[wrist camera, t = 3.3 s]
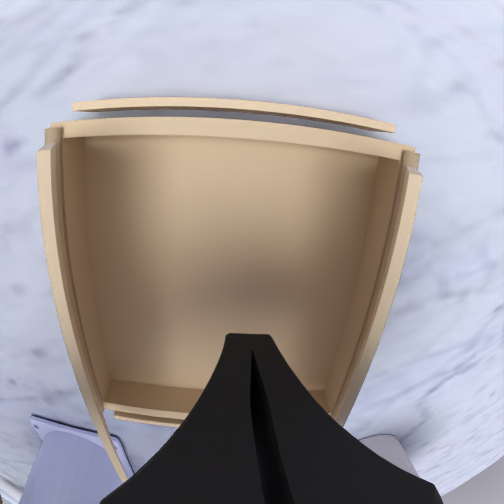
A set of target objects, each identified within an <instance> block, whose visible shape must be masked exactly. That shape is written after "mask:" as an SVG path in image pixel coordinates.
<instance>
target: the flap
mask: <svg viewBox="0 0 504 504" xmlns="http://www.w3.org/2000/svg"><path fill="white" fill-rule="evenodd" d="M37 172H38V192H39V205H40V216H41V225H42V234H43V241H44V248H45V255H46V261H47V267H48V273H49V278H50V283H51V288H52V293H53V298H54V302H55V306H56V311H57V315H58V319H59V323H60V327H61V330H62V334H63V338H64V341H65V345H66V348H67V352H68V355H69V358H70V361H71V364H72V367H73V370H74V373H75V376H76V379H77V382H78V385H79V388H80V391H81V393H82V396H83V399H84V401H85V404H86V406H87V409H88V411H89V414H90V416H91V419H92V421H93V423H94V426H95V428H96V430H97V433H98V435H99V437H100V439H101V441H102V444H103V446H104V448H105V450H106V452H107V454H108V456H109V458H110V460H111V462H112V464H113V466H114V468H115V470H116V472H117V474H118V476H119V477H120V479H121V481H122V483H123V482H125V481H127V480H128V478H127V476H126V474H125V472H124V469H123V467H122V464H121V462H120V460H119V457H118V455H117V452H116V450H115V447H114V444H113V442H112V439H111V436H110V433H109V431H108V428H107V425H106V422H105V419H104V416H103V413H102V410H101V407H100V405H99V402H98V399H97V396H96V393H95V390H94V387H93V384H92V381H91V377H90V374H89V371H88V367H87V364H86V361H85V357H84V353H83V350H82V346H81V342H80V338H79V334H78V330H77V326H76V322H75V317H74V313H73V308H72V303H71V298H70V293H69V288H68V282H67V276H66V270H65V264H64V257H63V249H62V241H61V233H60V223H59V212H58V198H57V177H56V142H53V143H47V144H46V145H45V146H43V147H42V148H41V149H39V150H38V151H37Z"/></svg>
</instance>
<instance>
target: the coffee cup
mask: <svg viewBox="0 0 504 504" xmlns="http://www.w3.org/2000/svg"><path fill="white" fill-rule="evenodd" d="M359 441H360V442H361V443H363V444H364V445H365V446H367V447H368V448H369V449H371V450H372V451H374V452H375V453H376V454H378V455H379V456H381V457H382V458H384V459H386V460H387V461H389V462H391V463H392V464H394V465H396V466H397V467H399V468H401V469H403V470H405V471H407V472H409V473H411V474H413V475H415V476H417V477H419V476H418V474H417V472H416V470H415V468H414V467H413V465H412V463H411V461H410V460H409V458H408V456H407V454H406V453H405V451H404V449H403V447H402V446H401V444H400V442H399V441H398V439H397V438H396V437H395V436H392V435H376V436H371V437H367V438H364V439H361V440H359ZM419 478H420V477H419Z"/></svg>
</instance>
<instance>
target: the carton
mask: <svg viewBox="0 0 504 504" xmlns="http://www.w3.org/2000/svg"><path fill="white" fill-rule="evenodd" d="M158 109H173V110H210V111H229V112H243V113H255V114H265V115H275V116H284V117H292V118H300V119H307V120H314V121H320V122H327V123H333V124H339V125H344V126H350V127H355V128H360V129H365V130H370V131H379V132H390V133H395V130H396V125H395V124H391V123H386V122H382V121H378V120H373V119H369V118H364V117H360V116H355V115H350V114H344V113H339V112H333V111H328V110H322V109H315V108H309V107H302V106H295V105H287V104H279V103H270V102H260V101H249V100H236V99H220V98H194V97H148V98H123V99H107V100H95V101H84V102H75V103H73V109H72V111H84V112H103V111H121V110H158ZM53 142H56V177H57V198H58V212H59V223H60V233H61V241H62V249H63V257H64V264H65V270H66V276H67V282H68V288H69V293H70V298H71V303H72V308H73V313H74V317H75V322H76V326H77V330H78V334H79V338H80V342H81V346H82V350H83V353H84V357H85V361H86V364H87V367H88V371H89V374H90V377H91V381H92V384H93V387H94V390H95V393H96V396H97V399H98V402H99V405H100V407H101V410H102V412H103V411H104V409H110V410H115V413H114V418H115V419H120V420H126V421H132V422H139V423H146V424H153V425H161V426H170V427H179V426H180V425H181V424H182V422H183V421H184V420H185V418H186V417H187V416H188V414H189V413H190V411H191V410H192V408H193V407H194V405H195V404H196V402H197V401H198V399H199V397H200V396H201V394H202V392H203V390H204V389H205V387H206V385H207V383H208V382H209V380H210V378H211V376H212V374H213V371H214V369H215V367H216V365H217V363H218V361H219V358H220V355H221V353H222V350H223V346H224V342H225V336H226V335H227V334H228V333H244V334H269V335H270V336H271V337H272V338H273V340H274V342H275V344H276V345H277V347H278V349H279V350H280V352H281V354H282V355H283V357H284V358H285V360H286V362H287V363H288V365H289V366H290V368H291V369H292V370H293V372H294V373H295V374H296V376H297V377H298V379H299V380H300V381H301V383H302V384H303V385H304V386H305V388H306V389H307V390H308V392H309V393H310V394H311V395H312V396H313V397H314V399H315V400H316V401H317V402H318V403H319V404H320V405H321V406H322V408H323V409H324V410H325V411H326V412H327V413H328V414H329V415H330V416H331V417H332V418H333V419H334V417H335V415H336V413H337V410H338V408H339V406H340V403H341V401H342V398H343V396H344V393H345V391H346V388H347V386H348V383H349V380H350V378H351V375H352V373H353V370H354V367H355V364H356V362H357V359H358V356H359V353H360V350H361V347H362V345H363V342H364V339H365V336H366V333H367V329H368V326H369V323H370V320H371V317H372V314H373V310H374V307H375V304H376V300H377V297H378V293H379V290H380V286H381V283H382V279H383V275H384V271H385V268H386V264H387V260H388V256H389V251H390V247H391V243H392V239H393V234H394V230H395V225H396V220H397V216H398V211H399V206H400V200H401V195H402V189H403V184H404V178H405V171H406V165H407V166H411V167H415V168H416V169H417V170H418V164H419V157H420V154H418V153H415V147H411V146H407V145H402V144H398V143H394V142H389V141H385V140H380V139H375V138H370V137H365V136H360V135H355V134H349V133H344V132H338V131H332V130H325V129H319V128H312V127H305V126H297V125H289V124H281V123H272V122H262V121H250V120H238V119H222V118H201V117H123V118H103V119H88V120H76V121H65V122H56V123H51V128H48V129H45V145H46V144H47V143H53Z"/></svg>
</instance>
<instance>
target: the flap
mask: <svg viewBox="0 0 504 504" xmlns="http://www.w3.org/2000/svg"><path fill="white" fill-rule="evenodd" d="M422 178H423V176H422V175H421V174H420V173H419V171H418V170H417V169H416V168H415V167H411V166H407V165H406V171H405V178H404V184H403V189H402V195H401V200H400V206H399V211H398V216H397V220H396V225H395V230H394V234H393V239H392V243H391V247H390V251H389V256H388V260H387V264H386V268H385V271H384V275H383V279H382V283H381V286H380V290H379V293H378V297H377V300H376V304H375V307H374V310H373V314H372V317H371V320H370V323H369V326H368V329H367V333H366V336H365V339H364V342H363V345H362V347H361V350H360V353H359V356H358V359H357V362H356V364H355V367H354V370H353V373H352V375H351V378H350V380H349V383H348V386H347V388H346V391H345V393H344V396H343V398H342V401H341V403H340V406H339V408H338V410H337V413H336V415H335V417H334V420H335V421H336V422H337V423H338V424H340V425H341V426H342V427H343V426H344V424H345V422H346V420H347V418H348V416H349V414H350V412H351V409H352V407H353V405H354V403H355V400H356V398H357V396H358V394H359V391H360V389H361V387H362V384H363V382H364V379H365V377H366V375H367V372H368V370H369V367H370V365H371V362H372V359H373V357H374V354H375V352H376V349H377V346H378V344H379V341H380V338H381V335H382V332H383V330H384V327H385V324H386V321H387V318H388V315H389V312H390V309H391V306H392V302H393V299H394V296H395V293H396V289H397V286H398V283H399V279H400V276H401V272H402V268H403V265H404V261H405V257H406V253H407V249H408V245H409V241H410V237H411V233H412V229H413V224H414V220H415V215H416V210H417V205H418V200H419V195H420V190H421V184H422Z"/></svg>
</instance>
